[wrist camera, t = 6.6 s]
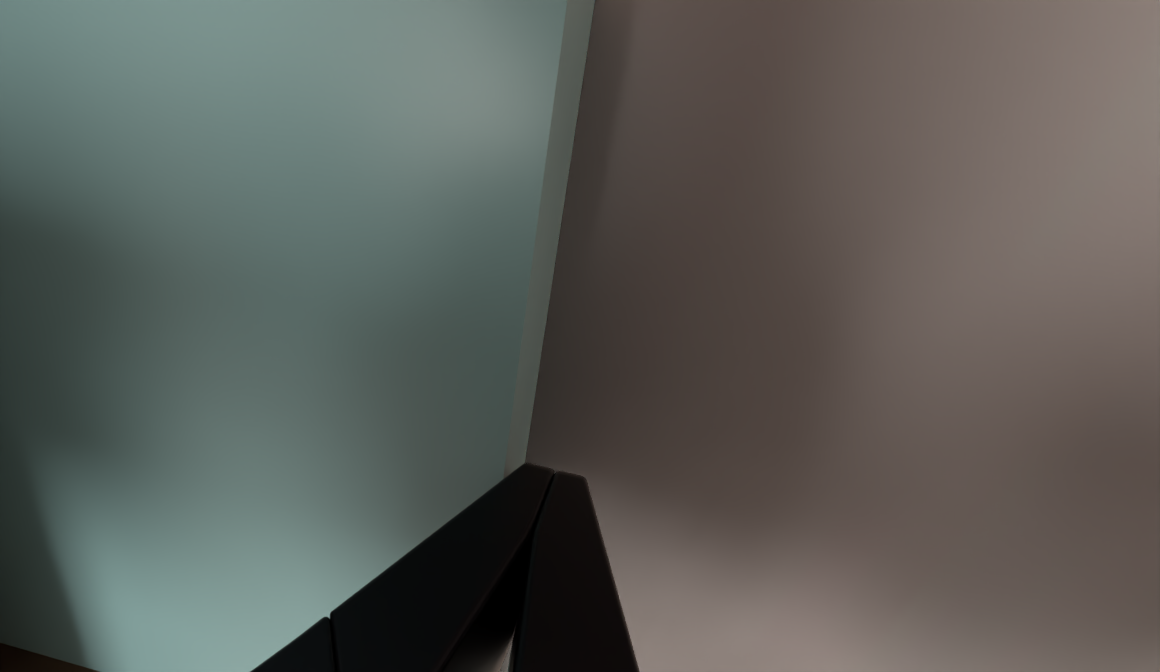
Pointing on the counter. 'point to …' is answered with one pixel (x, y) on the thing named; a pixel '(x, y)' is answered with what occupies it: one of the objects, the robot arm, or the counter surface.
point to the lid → (262, 303)
